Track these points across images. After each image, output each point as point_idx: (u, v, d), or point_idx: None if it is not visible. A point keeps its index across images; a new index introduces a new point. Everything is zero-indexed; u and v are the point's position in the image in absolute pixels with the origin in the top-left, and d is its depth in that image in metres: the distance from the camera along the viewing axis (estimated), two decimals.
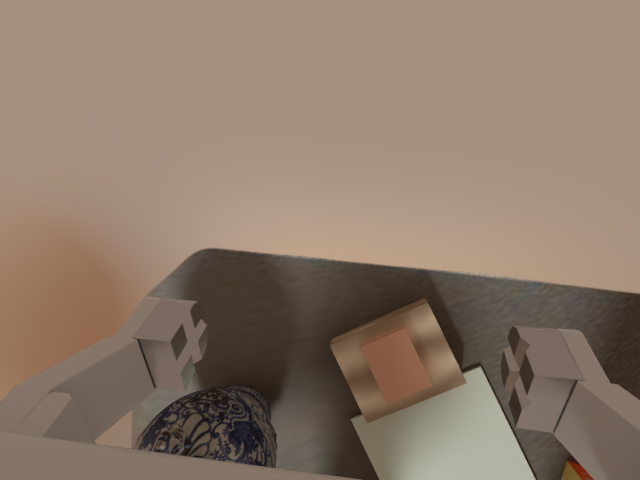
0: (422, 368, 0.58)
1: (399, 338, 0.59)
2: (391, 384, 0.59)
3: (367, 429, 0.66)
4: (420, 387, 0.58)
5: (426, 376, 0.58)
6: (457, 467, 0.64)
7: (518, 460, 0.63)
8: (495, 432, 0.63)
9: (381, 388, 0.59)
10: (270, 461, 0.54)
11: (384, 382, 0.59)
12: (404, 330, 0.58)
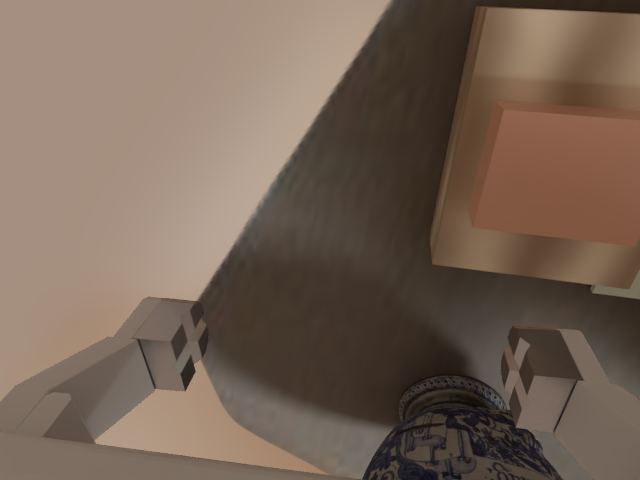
0: (631, 124, 0.21)
1: (517, 136, 0.22)
2: (601, 214, 0.23)
3: (637, 278, 0.31)
4: None
5: None
6: None
7: None
8: None
9: (590, 237, 0.24)
10: None
11: (584, 224, 0.24)
12: (508, 113, 0.21)
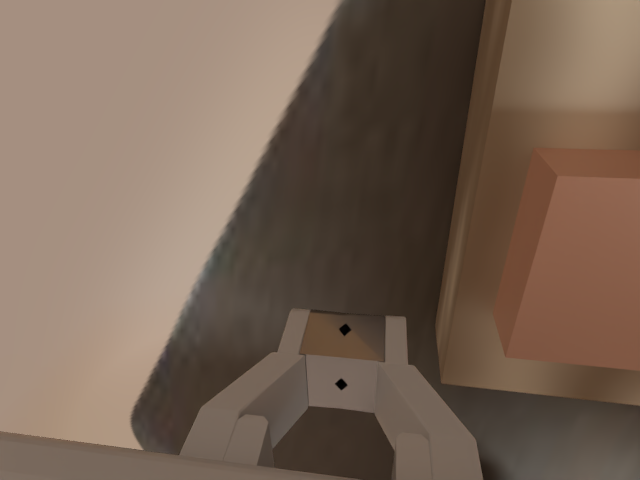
0: None
1: (583, 220, 0.12)
2: None
3: None
4: None
5: None
6: None
7: None
8: None
9: None
10: None
11: None
12: (566, 182, 0.11)
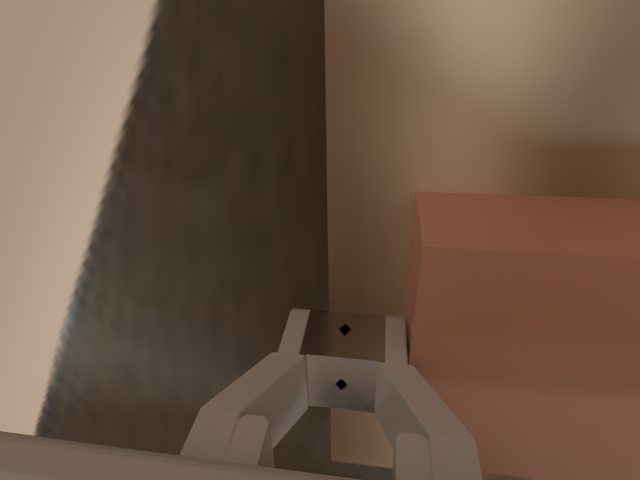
0: None
1: (468, 304, 0.08)
2: None
3: None
4: None
5: None
6: None
7: None
8: None
9: None
10: None
11: None
12: (436, 254, 0.08)
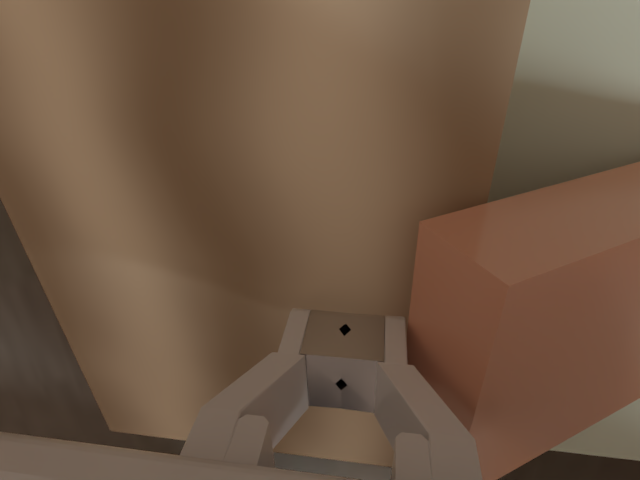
0: None
1: (535, 326, 0.08)
2: None
3: None
4: None
5: None
6: None
7: None
8: None
9: (626, 403, 0.12)
10: None
11: (621, 393, 0.12)
12: (517, 289, 0.07)
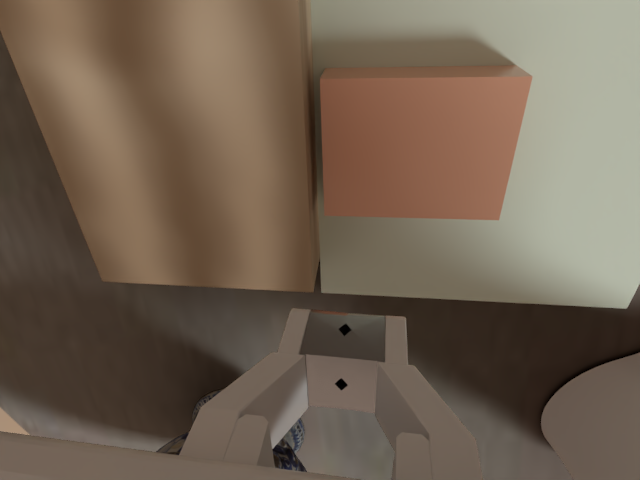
0: (462, 82, 0.18)
1: (342, 108, 0.19)
2: (455, 188, 0.20)
3: (358, 273, 0.27)
4: (512, 115, 0.18)
5: (492, 82, 0.18)
6: (579, 117, 0.20)
7: None
8: None
9: (450, 215, 0.21)
10: None
11: (440, 201, 0.21)
12: (326, 83, 0.18)
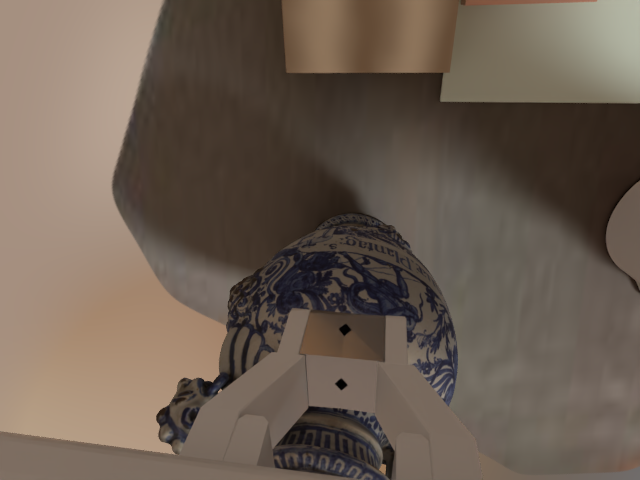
0: None
1: None
2: None
3: (473, 79, 0.35)
4: None
5: None
6: None
7: None
8: None
9: None
10: (377, 264, 0.30)
11: None
12: None
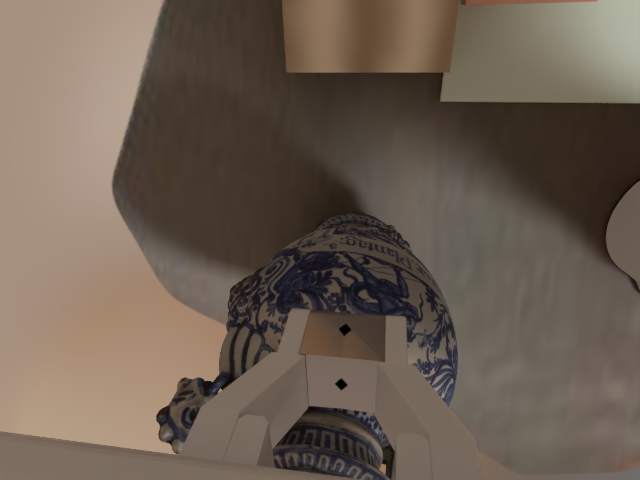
0: None
1: None
2: None
3: (473, 79, 0.35)
4: None
5: None
6: None
7: None
8: None
9: None
10: (377, 264, 0.30)
11: None
12: None
